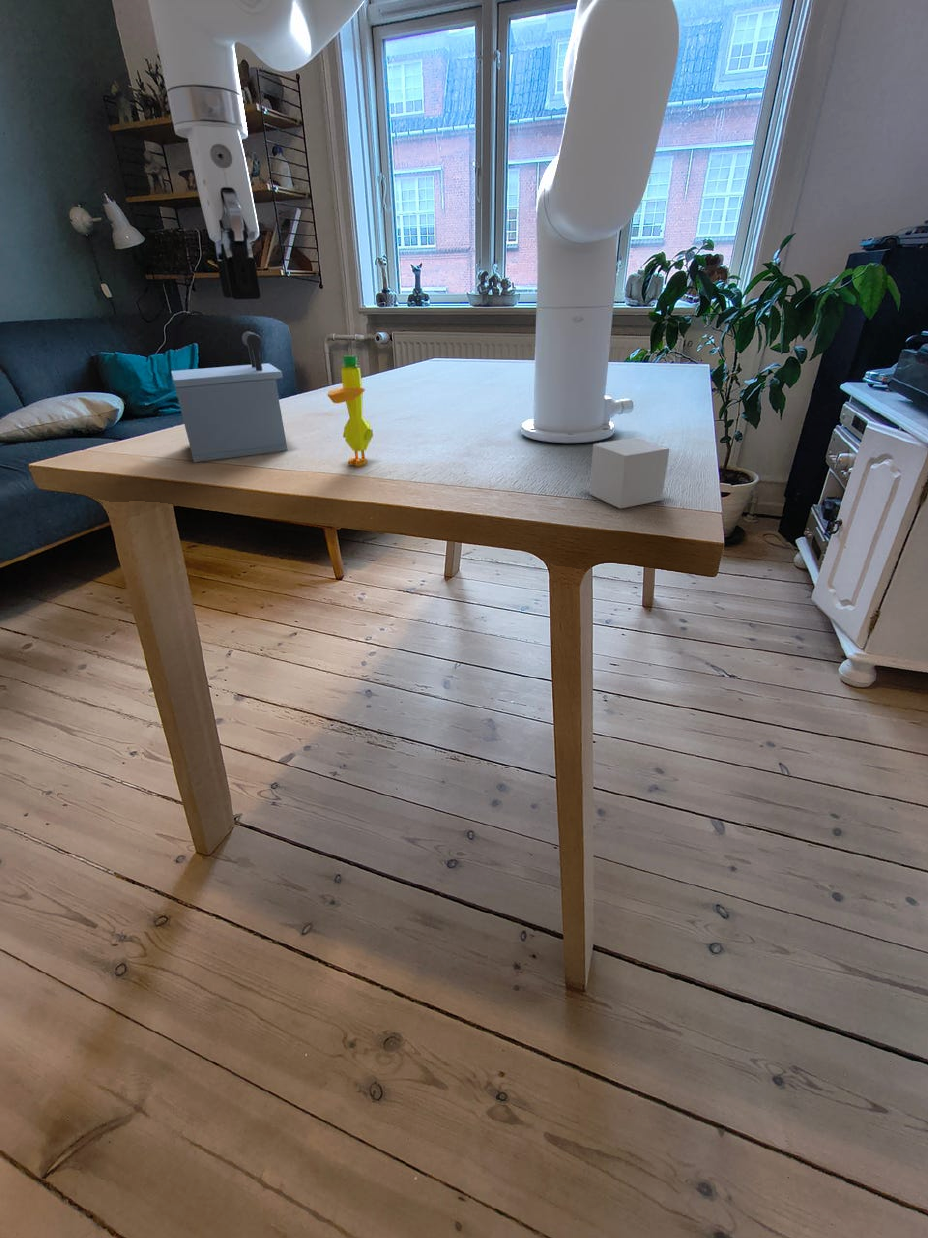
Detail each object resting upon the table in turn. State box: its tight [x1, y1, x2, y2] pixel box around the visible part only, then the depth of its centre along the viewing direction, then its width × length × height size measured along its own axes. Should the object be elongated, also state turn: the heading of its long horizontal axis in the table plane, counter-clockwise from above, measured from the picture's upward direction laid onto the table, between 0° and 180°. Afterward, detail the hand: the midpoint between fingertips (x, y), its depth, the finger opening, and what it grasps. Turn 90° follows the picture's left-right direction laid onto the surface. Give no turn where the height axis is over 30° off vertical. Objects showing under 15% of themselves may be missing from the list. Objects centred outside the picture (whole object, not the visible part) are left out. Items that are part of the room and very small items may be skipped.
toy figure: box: [326, 355, 374, 467], centre depth 68 cm, size 7×4×12 cm, turn 153°
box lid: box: [170, 331, 283, 388], centre depth 74 cm, size 12×10×5 cm
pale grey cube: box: [588, 437, 670, 510], centre depth 57 cm, size 5×5×5 cm
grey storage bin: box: [174, 379, 288, 463], centre depth 78 cm, size 12×10×9 cm
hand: (241, 297), depth 73 cm, fingers open, 9 cm apart
